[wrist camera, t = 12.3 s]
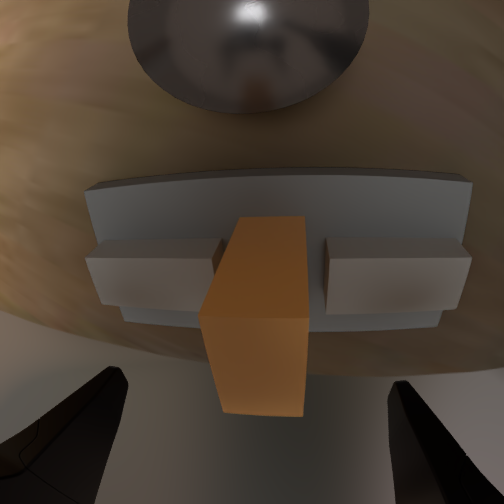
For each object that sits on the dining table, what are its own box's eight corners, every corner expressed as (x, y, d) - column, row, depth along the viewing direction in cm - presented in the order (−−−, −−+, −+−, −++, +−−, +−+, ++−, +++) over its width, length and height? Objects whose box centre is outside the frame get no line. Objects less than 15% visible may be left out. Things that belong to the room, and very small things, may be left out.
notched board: (459, 174, 13) (493, 196, 10) (430, 311, 17) (447, 349, 14) (98, 182, 16) (61, 204, 13) (133, 307, 20) (111, 341, 17)
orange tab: (304, 216, 14) (309, 318, 8) (304, 303, 16) (302, 416, 10) (239, 217, 14) (197, 315, 8) (248, 303, 17) (223, 412, 11)
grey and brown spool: (331, -26, 9) (350, -85, 4) (343, 106, 13) (376, 113, 7) (185, -13, 10) (127, -57, 5) (195, 113, 14) (137, 127, 8)
